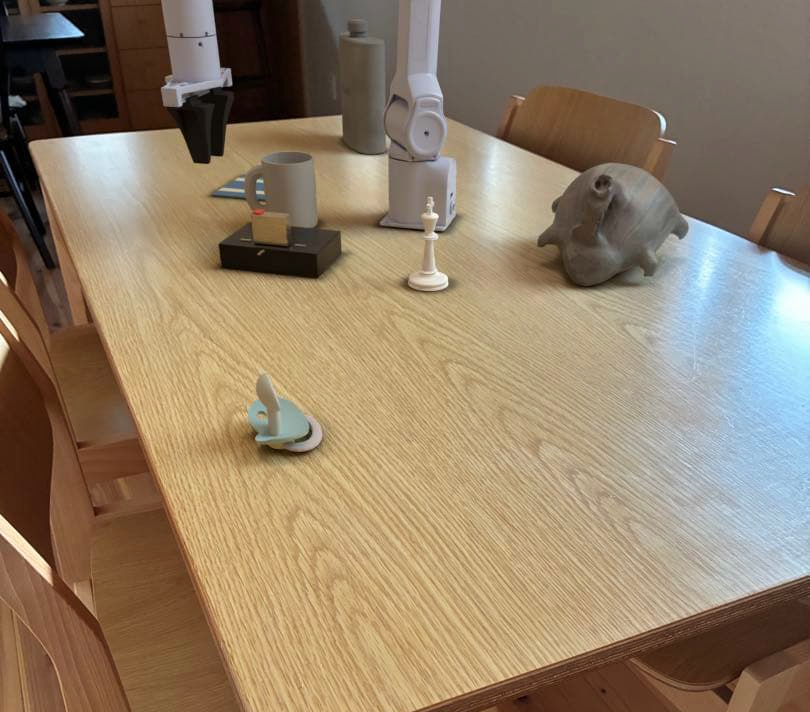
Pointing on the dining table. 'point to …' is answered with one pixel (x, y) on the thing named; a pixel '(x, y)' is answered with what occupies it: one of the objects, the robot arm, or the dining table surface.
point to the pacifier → (281, 420)
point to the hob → (282, 252)
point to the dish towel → (240, 189)
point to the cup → (285, 186)
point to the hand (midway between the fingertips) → (208, 159)
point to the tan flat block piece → (271, 228)
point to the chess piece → (428, 257)
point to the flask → (362, 88)
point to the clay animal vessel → (612, 223)
